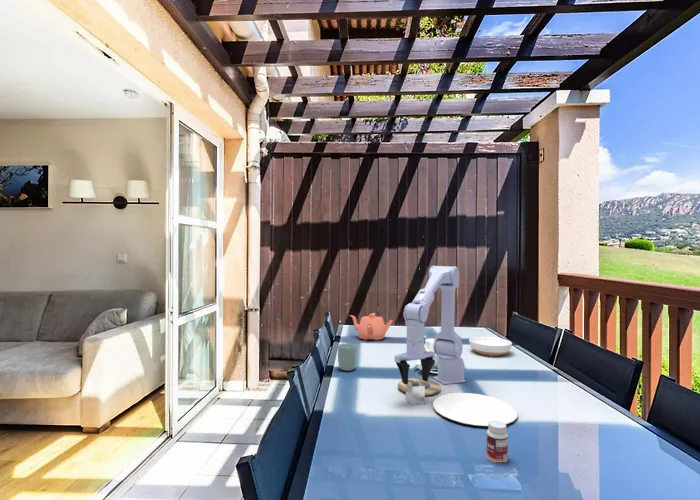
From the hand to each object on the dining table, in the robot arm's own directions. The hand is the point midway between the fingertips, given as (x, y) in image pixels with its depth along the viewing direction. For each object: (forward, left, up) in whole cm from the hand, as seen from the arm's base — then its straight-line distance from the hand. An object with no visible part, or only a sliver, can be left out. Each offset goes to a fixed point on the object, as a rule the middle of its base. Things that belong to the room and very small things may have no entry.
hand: (415, 382), depth 128 cm
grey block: (0, 0, -7) cm, 7 cm away
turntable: (-7, -10, -7) cm, 14 cm away
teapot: (-21, -90, -7) cm, 92 cm away
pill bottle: (-2, +37, -7) cm, 38 cm away
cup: (+10, -40, -7) cm, 42 cm away
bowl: (-64, -43, -7) cm, 77 cm away
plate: (-14, +12, -7) cm, 20 cm away
